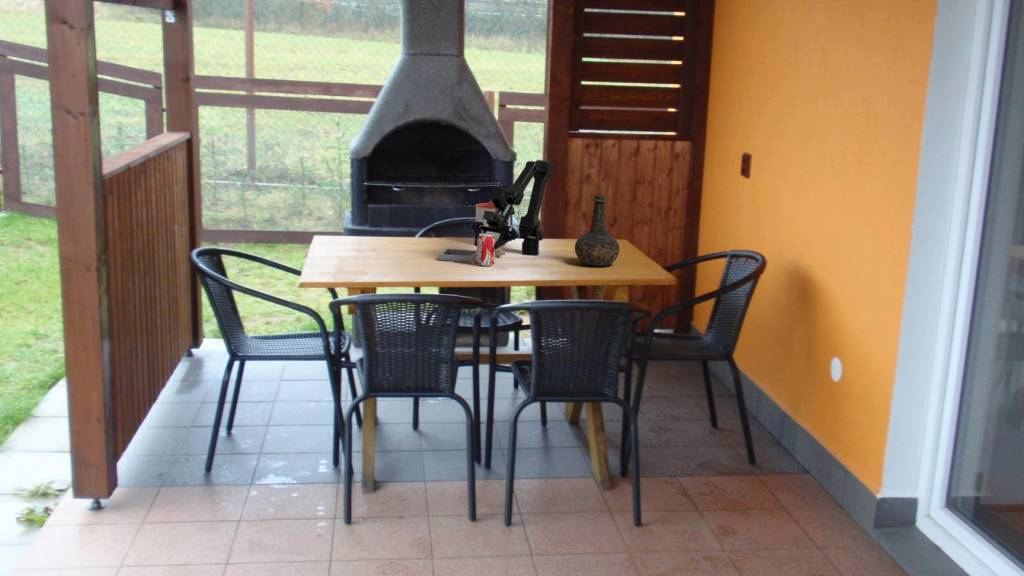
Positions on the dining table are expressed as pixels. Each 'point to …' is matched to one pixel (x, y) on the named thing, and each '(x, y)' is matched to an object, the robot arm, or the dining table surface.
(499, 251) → the brown block with knob
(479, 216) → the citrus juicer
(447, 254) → the slate tray
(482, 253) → the soda can
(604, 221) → the glass bottle
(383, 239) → the dining table surface
